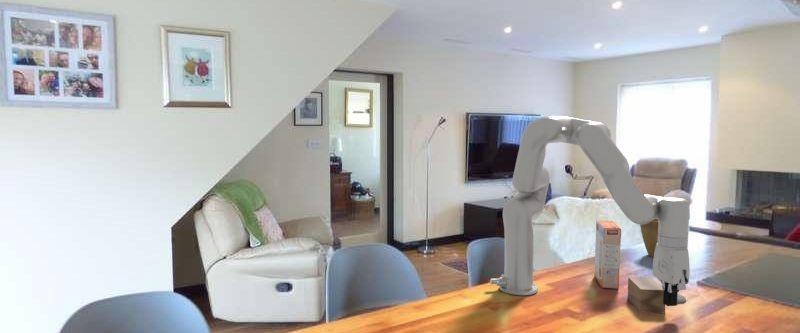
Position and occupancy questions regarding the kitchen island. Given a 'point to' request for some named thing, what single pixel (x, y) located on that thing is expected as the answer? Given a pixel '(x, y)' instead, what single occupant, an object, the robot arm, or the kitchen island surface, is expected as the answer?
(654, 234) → the plant pot
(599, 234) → the cracker box
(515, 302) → the kitchen island surface
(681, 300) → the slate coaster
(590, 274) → the kitchen island surface
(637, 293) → the brown block
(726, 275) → the kitchen island surface
